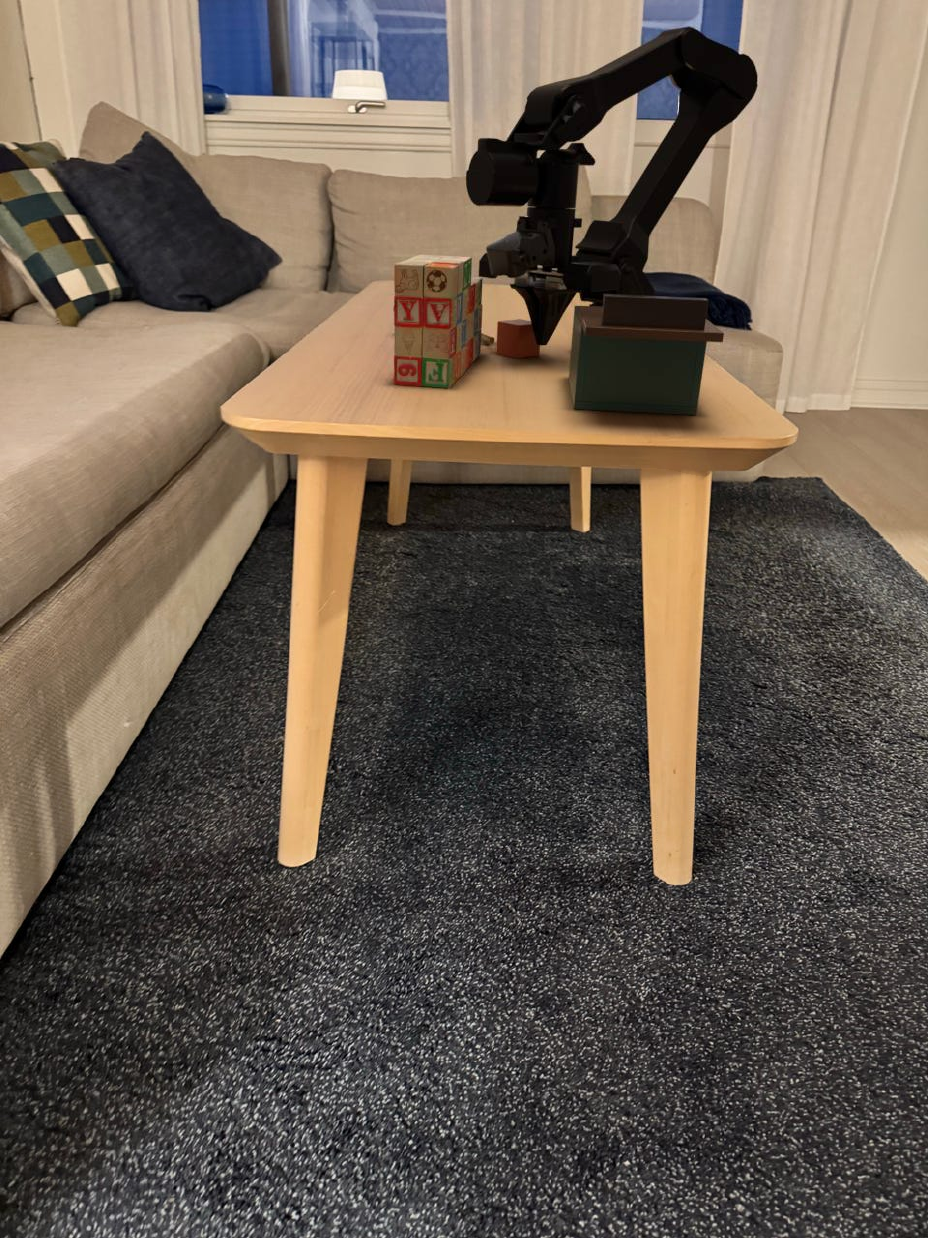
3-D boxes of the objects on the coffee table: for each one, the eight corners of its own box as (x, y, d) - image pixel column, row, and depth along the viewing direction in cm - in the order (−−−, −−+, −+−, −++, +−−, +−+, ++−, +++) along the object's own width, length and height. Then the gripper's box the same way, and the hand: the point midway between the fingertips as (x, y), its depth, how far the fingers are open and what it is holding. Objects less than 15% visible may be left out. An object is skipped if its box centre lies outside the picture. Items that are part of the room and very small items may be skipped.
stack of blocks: (433, 351, 116) (435, 248, 111) (481, 354, 115) (485, 250, 110) (393, 384, 97) (393, 261, 92) (450, 388, 96) (454, 264, 91)
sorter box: (568, 379, 103) (574, 305, 100) (674, 384, 103) (684, 310, 99) (573, 409, 90) (581, 324, 86) (696, 415, 89) (708, 330, 86)
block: (518, 350, 119) (519, 318, 117) (539, 355, 116) (542, 323, 115) (495, 353, 117) (497, 321, 115) (517, 358, 114) (519, 325, 112)
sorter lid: (577, 313, 93) (580, 279, 92) (695, 318, 93) (700, 284, 91) (584, 335, 80) (588, 296, 78) (722, 342, 79) (728, 302, 78)
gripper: (447, 203, 108) (444, 339, 114) (563, 211, 95) (551, 363, 102) (514, 204, 114) (507, 332, 121) (630, 211, 102) (615, 354, 109)
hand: (541, 344), depth 113 cm, fingers closed
